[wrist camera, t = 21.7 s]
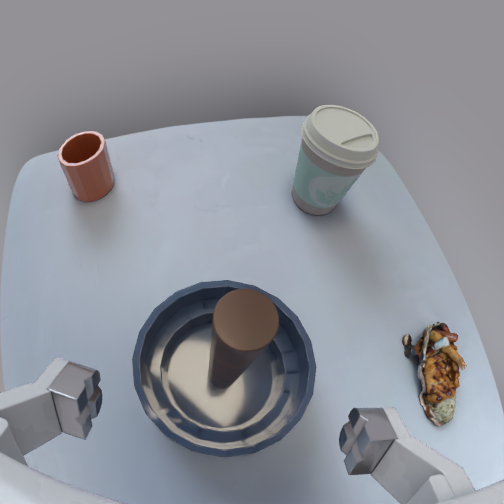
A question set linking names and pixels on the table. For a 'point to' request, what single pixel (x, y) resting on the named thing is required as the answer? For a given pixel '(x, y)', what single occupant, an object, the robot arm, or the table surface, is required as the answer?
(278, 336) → the bowl
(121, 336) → the table surface
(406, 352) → the loaded food tray
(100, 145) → the crock
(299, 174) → the coffee cup
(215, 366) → the brown wooden rod
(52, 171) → the table surface
